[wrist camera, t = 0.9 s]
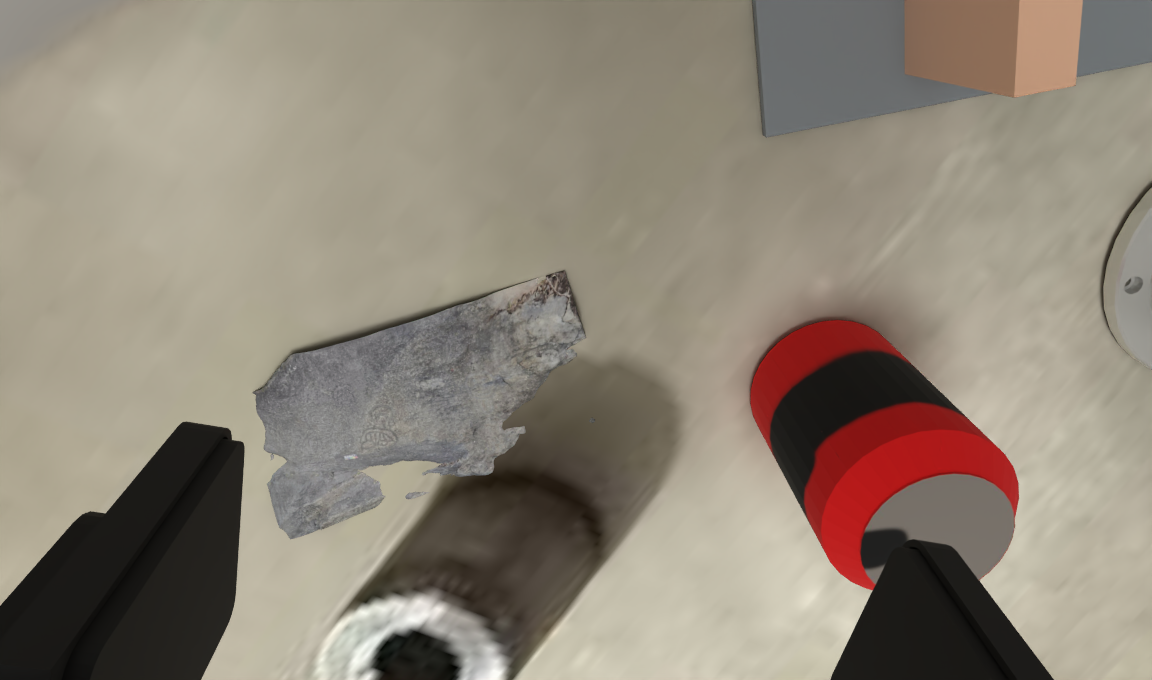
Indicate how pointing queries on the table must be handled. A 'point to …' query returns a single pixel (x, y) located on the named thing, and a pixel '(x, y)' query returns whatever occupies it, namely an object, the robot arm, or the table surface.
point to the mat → (892, 58)
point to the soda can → (879, 452)
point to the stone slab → (410, 399)
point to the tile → (994, 43)
